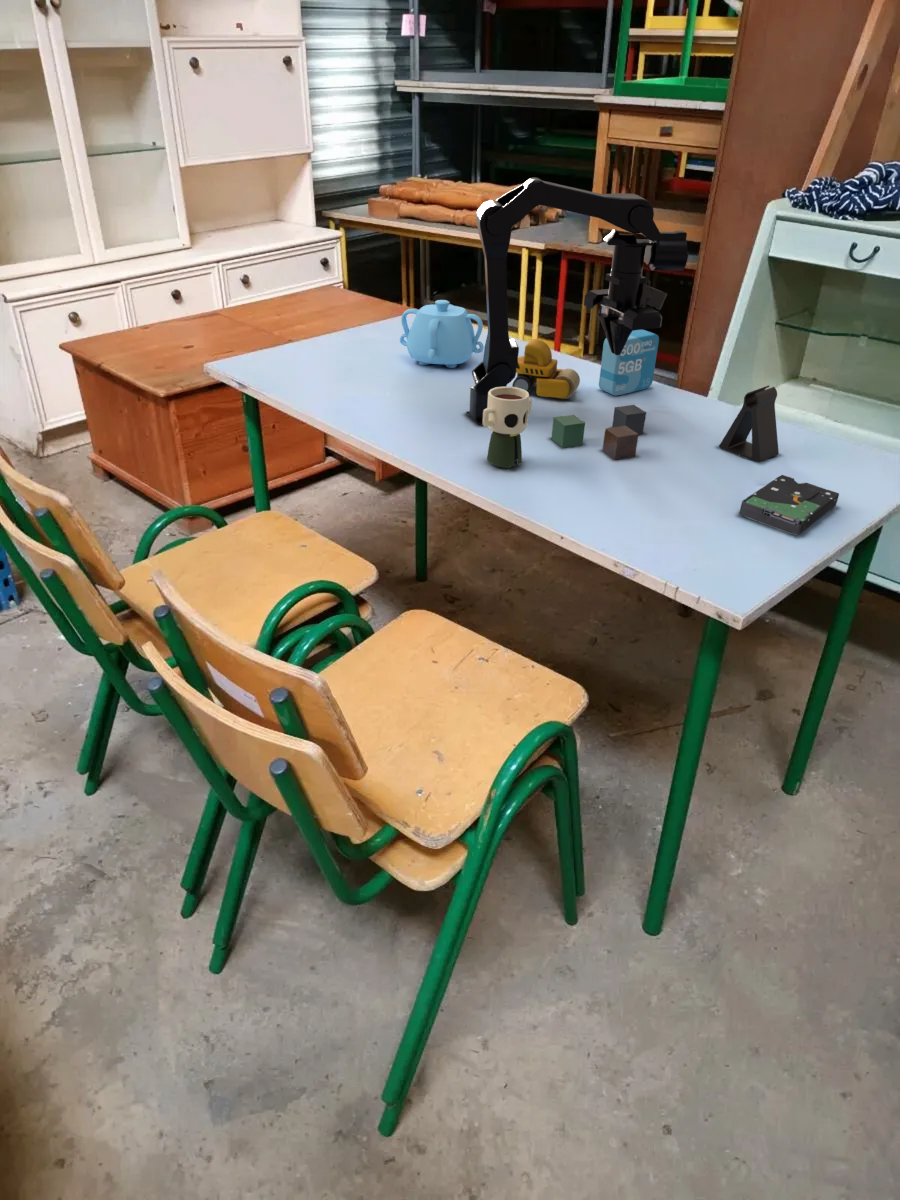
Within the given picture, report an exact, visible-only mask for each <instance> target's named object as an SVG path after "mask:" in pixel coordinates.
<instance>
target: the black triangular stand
mask: <svg viewBox="0 0 900 1200" xmlns="http://www.w3.org/2000/svg"><path fill="white" fill-rule="evenodd" d="M777 398H778V391H777V389H776V387H774V386H772V387H770V385H765V386H763V387H760V388H757V389H755V390H754V389H753V390H752V391H749V392H747V393H746V394H745V395H744V397H743V403H742V406H741V409H740V410H739V412H738V414H737V415H736V417H735V418H734V420H733V422H732V423H731V425H730V427H729V428H728V430H727V431H726V434H725V435H724V437H723V439H722V440H721V441H720V442H719V445H718V447H719V448H720V449H722V450H724V451H727V452H729V453H732V454H735V455H737V456H740V457H743V458H745V459H748V460H750V461H753V462H756V463H761V462H765V461H766V460H769V459H771V458H774V457H775V456H777V455H779V453H780V451H779V441H778V428H777V417H776V401H777ZM749 434H751V442H749V441H747V439H748V437H749Z"/></svg>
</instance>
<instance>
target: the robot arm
mask: <svg viewBox="0 0 900 1200" xmlns="http://www.w3.org/2000/svg"><path fill="white" fill-rule="evenodd" d="M538 206H543V207H547V208H552V209H556V210H561V211H565V212H570V213H575V214H579V215H583V216H586V217H587V216H588V217H592V218H596V219H600V220H602V221H605V222H606V223H609V224H610V225H613V226H614V227H617V228H619V229H622V230H623V231H626V232H628V233H619V231H618V230H617V229H616V228H613V229H612V230H611V231H610V233H608V234H607V235H605V236H604V238H603V239H602V240H603V242H604V243H605V244H606V245H607V246H613V252H612V259H611V260H612V261H611V269H610V273H605V281H608V282H609V283H608V284H609V285H608V288H605V289H603V288H602V289H593V290H592V289H591V290H588V292H586V294H584V298H583V299H584V300H583V306H584V307H586V308H589V309H594V308H595V306H596V305H600V306H601V310H600V313H599V312H598V313H597V317H598V318H599V321H600V323H601V326H602V328H603V331H604V334H605V337H607V340H608V343H609V346H610V349H611V352H612V353H613V354H614V353H615V355H620V354H621V352H622V350H623V348H624V346H625V344H626V342H627V340H628V338H629V336H630V334H631V332H632V331H635V330H654V329H660V328H661V327H662V321H663V315H662V314H661V313H660V311H661V309H662V307H663V305H664V302H665V300H666V298H667V296H668V293H667V292H664V291H662V290H659V289H657V288H654V287H652V286H651V281H650V280H649V279H647V277H646V276H643V272H644V271H643V270H644V262H645V265H647V266H649V269H650V270H651V271H658V272H659V271H660V272H661V271H662V272H663V271H668V272H669V271H670V272H672V271H675V272H676V271H677V272H682V271H684V270H685V268H686V266H687V264H688V259H689V252H688V240H687V236H688V233H687V232H686V231H685V230H674V231H660V229H659V228H658V226H657V225H656V222H655V221H654V217H655V211H654V208H653V205H652V203H651V202H650V201H648V200H647V199H645V198H643V197H642V196H640V195H639V194H637V193H623V192H622V193H621V192H618V193H617V192H616V193H599V192H593V191H590V190H586V189H582V188H577V187H572V186H568V185H563V184H559V183H554V182H551V181H547V180H542V179H540V178H539V177H530V178H527V180H526V181H524V182H523V183H522V184H521V185H519V186H516V187H515V188H514V189H511V190H510V191H508V192H506V193H504V194H502V195H501V196H500V197H499V198H497V199H496V200H494V199H493V200H491V199H490V200H487V201H484V202H483V203H482V204H481V205H480V206H479V207H478V209H477V210H476V214H475V221H476V227H477V232H478V235H479V240H480V245H481V248H482V252H483V256H484V273H485V276H484V277H485V297H486V317H487V318H486V321H487V335H486V339H485V343H484V348H483V357H482V361H481V362H480V363H479V364H478V365H476V367H474V369H472V370H471V375H472V379H473V381H474V384H475V385H474V386H470V388H469V389H470V392H469V410H467V411H465V416H467V417H468V418H470V420H472V421H473V422H474V423H475V424H476V425H479V426H481V425H482V426H483V411H484V409H486V408H487V405H488V392H489V391H490V390H491V389H493V388H496V387H508V385H509V384H510V383H511V382H512V381H514V380H515V379H516V377H517V373H516V368H518V369H520V367H519V364H518V357H519V353H520V352H519V351H520V347H519V345H518V342H517V341H516V339H515V338H510V335H509V311H508V310H509V307H508V306H509V305H508V275H507V274H508V273H507V258H508V257H507V256H508V253H509V248H510V244H511V238H512V229H513V227H514V226H515V225H516V224H519V222H521V221H522V220H523V219H524V218H525V217H526V216H528V214H529V213H531V212H532V211H533V210H534V209H535V208H537V207H538ZM638 234H639V235H642V236H643V237H645V238H646V239H645V238H644V239H641V238H637V237H636V235H638ZM646 305H648V307H646ZM649 306H650V307H649ZM637 307H639V308H637ZM652 307H653V308H652ZM654 308H655V309H654Z"/></svg>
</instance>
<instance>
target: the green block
mask: <svg viewBox="0 0 900 1200" xmlns="http://www.w3.org/2000/svg"><path fill="white" fill-rule="evenodd" d="M585 428H586V422H585V421H584V420H582V419H581V418H579V417H578V416H576V415H575V414H569V415H559V416H553V418H552V428H551V437H550V439H551V440H552V441H553V442H554V443H556V445H558V446H559V447H560V448H562V449H563V448H570V447H571V448H572V447H578V446H583V445H584V439H585V438H584V436H585Z"/></svg>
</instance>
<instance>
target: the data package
mask: <svg viewBox="0 0 900 1200" xmlns="http://www.w3.org/2000/svg"><path fill="white" fill-rule="evenodd" d="M605 337H606V336H605ZM659 343H660V337H659V335H658V334H656V333H654V332H652V331H648V330H646V329H643V330H633V331H632V332H631V334H630V336H629V338H628V340H627V342H626V344H625V346H624V348H623V350H622V352H621V354H620V355H615V353H614V354H613V353H612V352H611V349H610V346H609V343H608V340H607V337H606V338H605V339H604V341H603V346H602V353H601V354H602V355H601V361H600V362H601V363H600V371H599V378H598V379H599V380H598V387H599V389H600V390H601V391H604V392H605V393H607V394H610V395H612V396H614V397H615V396H622V395H625V394H626V395H627V394H630V393H635V392H639V391H643V390H648V389H649V388H650V387H651V386H652V384H653V381H654V376H655V375H654V374H655V368H656V361H657V355H658V350H659V349H658V348H659Z"/></svg>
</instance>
